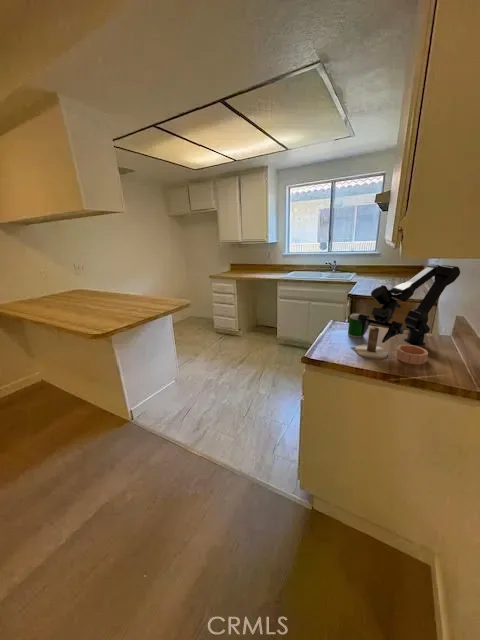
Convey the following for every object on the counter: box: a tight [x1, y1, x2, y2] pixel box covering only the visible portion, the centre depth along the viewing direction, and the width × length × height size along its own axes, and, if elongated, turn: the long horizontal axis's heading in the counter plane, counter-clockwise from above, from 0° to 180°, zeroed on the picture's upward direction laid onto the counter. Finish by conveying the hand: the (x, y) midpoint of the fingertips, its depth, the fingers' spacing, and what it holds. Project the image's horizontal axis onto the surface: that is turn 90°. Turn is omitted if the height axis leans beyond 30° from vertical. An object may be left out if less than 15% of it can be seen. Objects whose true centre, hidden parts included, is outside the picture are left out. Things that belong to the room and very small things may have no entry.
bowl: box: [394, 344, 429, 366], centre depth 112 cm, size 11×11×4 cm
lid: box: [354, 326, 389, 360], centre depth 117 cm, size 13×13×12 cm
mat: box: [349, 346, 395, 361], centre depth 119 cm, size 13×13×1 cm
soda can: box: [347, 312, 362, 339], centre depth 137 cm, size 8×8×12 cm
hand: (371, 339), depth 117 cm, fingers open, 9 cm apart
